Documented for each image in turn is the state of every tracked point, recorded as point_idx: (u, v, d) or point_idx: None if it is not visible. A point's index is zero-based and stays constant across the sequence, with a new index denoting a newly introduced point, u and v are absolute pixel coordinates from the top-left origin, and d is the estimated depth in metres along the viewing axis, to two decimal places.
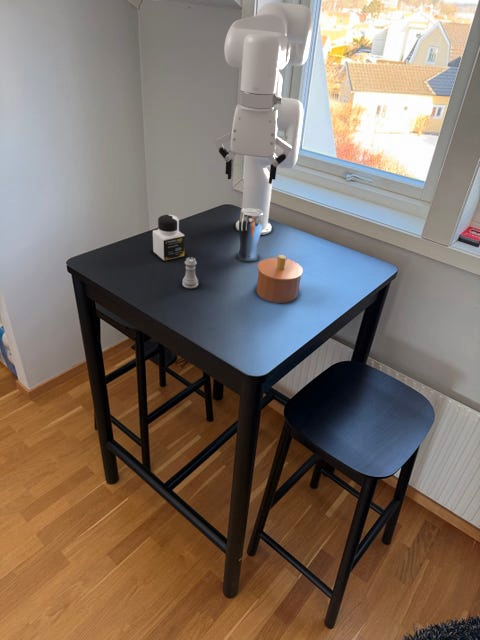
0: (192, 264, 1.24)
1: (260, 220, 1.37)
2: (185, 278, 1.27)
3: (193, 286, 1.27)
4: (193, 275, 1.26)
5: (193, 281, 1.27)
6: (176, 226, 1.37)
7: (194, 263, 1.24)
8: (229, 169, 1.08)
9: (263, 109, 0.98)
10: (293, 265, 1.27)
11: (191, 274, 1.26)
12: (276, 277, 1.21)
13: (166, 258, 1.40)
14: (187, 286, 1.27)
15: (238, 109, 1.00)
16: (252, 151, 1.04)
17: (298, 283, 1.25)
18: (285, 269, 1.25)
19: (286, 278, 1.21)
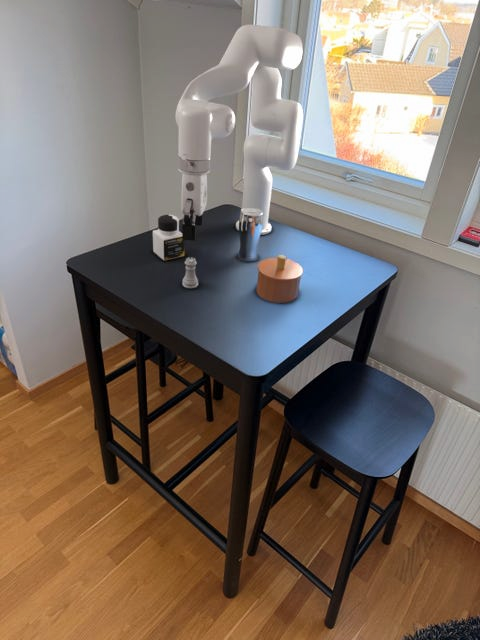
0: (192, 264, 1.24)
1: (260, 220, 1.37)
2: (185, 278, 1.27)
3: (193, 286, 1.27)
4: (193, 275, 1.26)
5: (193, 281, 1.27)
6: (176, 226, 1.37)
7: (194, 263, 1.24)
8: (190, 215, 1.23)
9: (178, 169, 1.10)
10: (293, 265, 1.27)
11: (191, 274, 1.26)
12: (276, 277, 1.21)
13: (166, 258, 1.40)
14: (187, 286, 1.27)
15: None
16: None
17: (298, 283, 1.25)
18: (285, 269, 1.25)
19: (286, 278, 1.21)
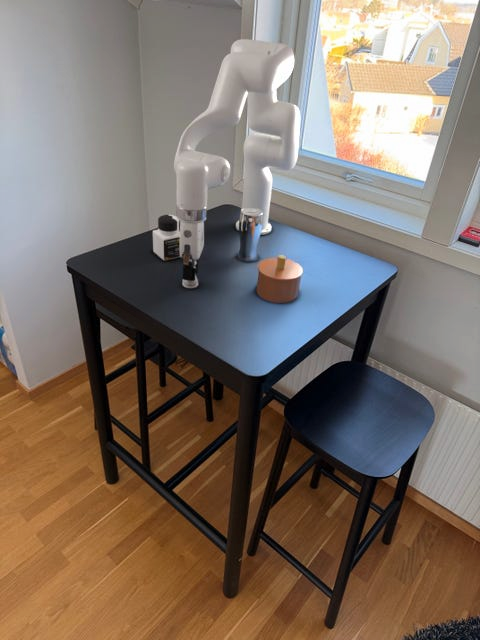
0: None
1: (260, 220, 1.37)
2: None
3: (193, 286, 1.27)
4: None
5: (193, 281, 1.27)
6: (176, 226, 1.37)
7: (194, 263, 1.24)
8: None
9: None
10: (293, 265, 1.27)
11: None
12: (276, 277, 1.21)
13: (166, 258, 1.40)
14: (187, 286, 1.27)
15: None
16: None
17: (298, 283, 1.25)
18: (285, 269, 1.25)
19: (286, 278, 1.21)
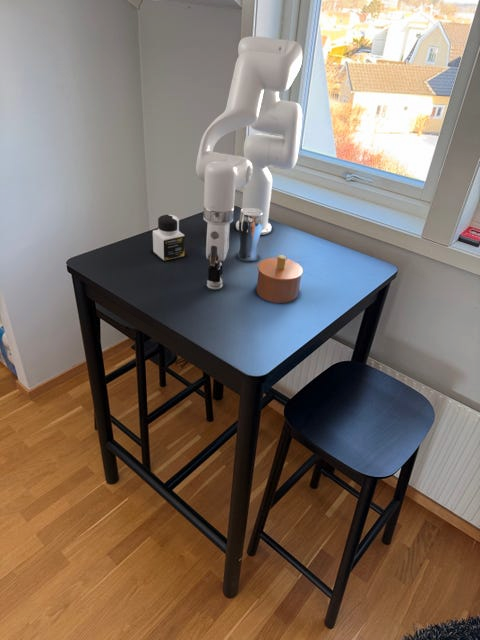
0: None
1: (260, 220, 1.37)
2: None
3: (218, 287, 1.28)
4: None
5: (217, 282, 1.27)
6: (176, 226, 1.37)
7: None
8: None
9: (204, 218, 1.17)
10: (293, 265, 1.27)
11: None
12: (276, 277, 1.21)
13: (166, 258, 1.40)
14: (212, 287, 1.28)
15: None
16: None
17: (298, 283, 1.25)
18: (285, 269, 1.25)
19: (286, 278, 1.21)
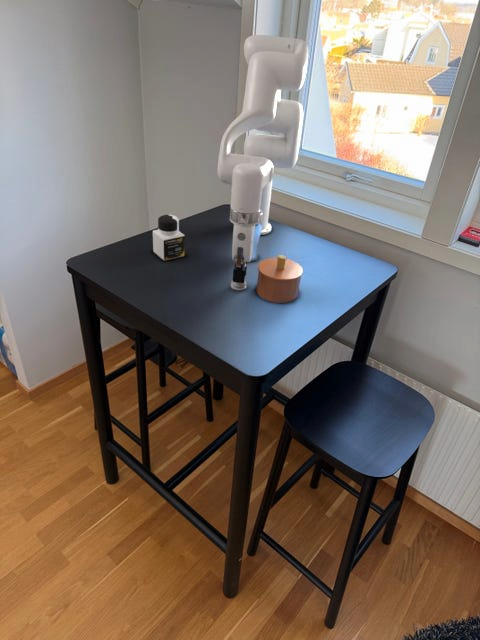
0: None
1: (260, 220, 1.37)
2: None
3: (242, 288, 1.28)
4: None
5: (242, 283, 1.28)
6: (176, 226, 1.37)
7: None
8: None
9: (230, 219, 1.18)
10: (293, 265, 1.27)
11: None
12: (276, 277, 1.21)
13: (166, 258, 1.40)
14: (236, 288, 1.28)
15: None
16: None
17: (298, 283, 1.25)
18: (285, 269, 1.25)
19: (286, 278, 1.21)
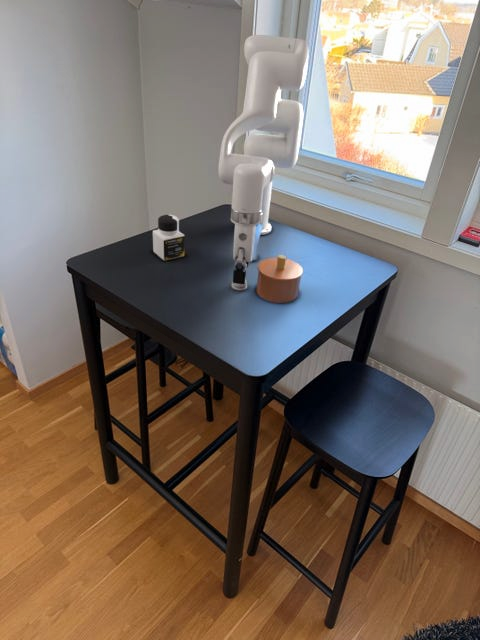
0: None
1: (260, 220, 1.37)
2: None
3: (243, 288, 1.28)
4: None
5: None
6: (176, 226, 1.37)
7: None
8: None
9: (231, 219, 1.18)
10: (293, 265, 1.27)
11: None
12: (276, 277, 1.21)
13: (166, 258, 1.40)
14: (237, 288, 1.28)
15: None
16: None
17: (298, 283, 1.25)
18: (285, 269, 1.25)
19: (286, 278, 1.21)
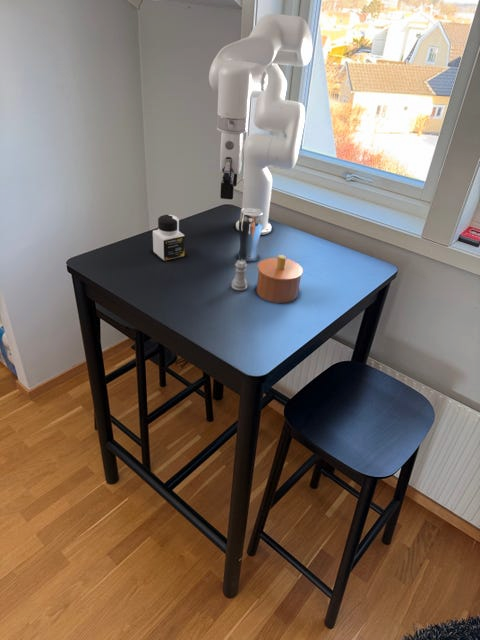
0: (243, 266, 1.25)
1: (260, 220, 1.37)
2: (235, 280, 1.28)
3: (243, 288, 1.28)
4: (243, 277, 1.27)
5: (242, 283, 1.28)
6: (176, 226, 1.37)
7: (245, 265, 1.25)
8: None
9: (217, 128, 1.13)
10: (293, 265, 1.27)
11: (242, 276, 1.27)
12: (276, 277, 1.21)
13: (166, 258, 1.40)
14: (237, 288, 1.28)
15: None
16: None
17: (298, 283, 1.25)
18: (285, 269, 1.25)
19: (286, 278, 1.21)
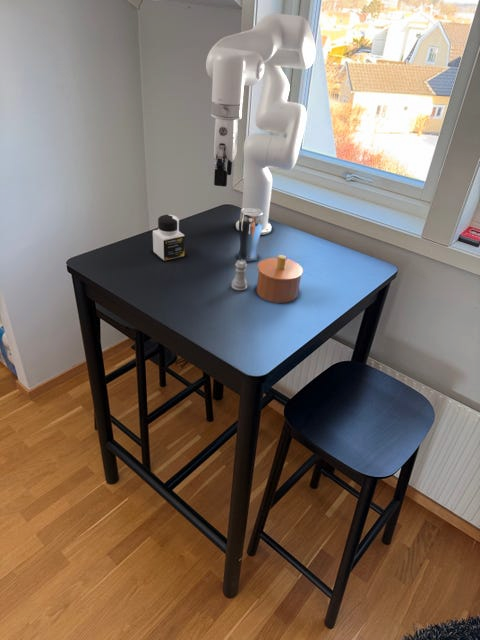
0: (243, 266, 1.25)
1: (260, 220, 1.37)
2: (235, 280, 1.28)
3: (243, 288, 1.28)
4: (243, 277, 1.27)
5: (242, 283, 1.28)
6: (176, 226, 1.37)
7: (245, 265, 1.25)
8: None
9: (211, 114, 1.14)
10: (293, 265, 1.27)
11: (242, 276, 1.27)
12: (276, 277, 1.21)
13: (166, 258, 1.40)
14: (237, 288, 1.28)
15: None
16: None
17: (298, 283, 1.25)
18: (285, 269, 1.25)
19: (286, 278, 1.21)
